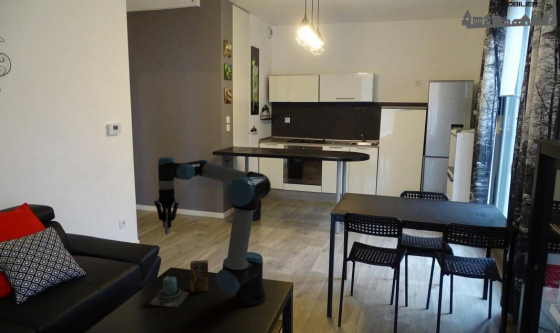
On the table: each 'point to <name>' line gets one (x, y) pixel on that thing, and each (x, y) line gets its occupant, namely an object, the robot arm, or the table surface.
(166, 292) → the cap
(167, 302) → the square base with ring
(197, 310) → the table surface
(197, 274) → the candy box
